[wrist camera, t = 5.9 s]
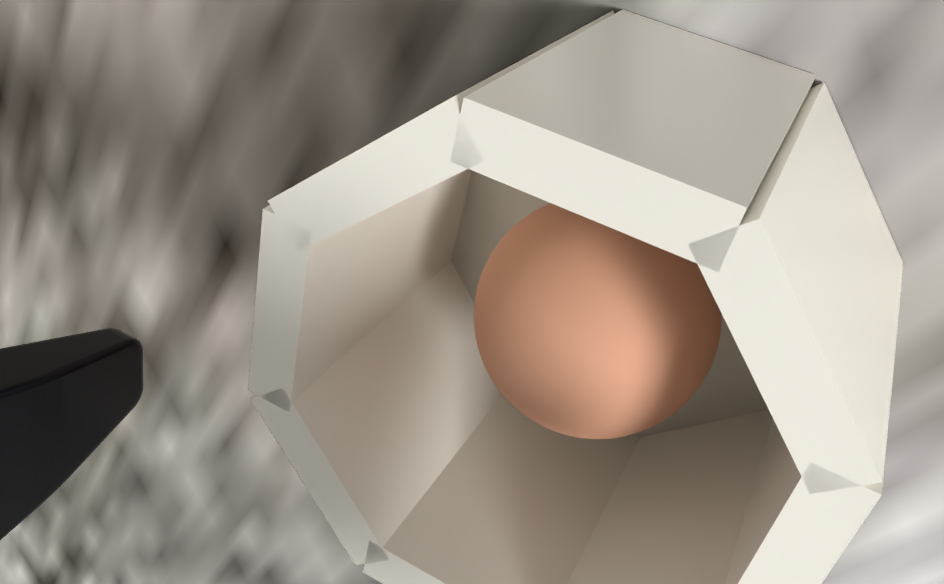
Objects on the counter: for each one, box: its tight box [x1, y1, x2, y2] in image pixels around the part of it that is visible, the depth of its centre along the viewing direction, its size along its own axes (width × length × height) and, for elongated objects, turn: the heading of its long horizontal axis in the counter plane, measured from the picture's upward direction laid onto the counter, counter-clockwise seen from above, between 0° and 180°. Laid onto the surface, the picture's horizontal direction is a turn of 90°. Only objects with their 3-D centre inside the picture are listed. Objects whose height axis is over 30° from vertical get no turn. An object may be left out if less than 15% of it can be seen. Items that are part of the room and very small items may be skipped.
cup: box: [248, 10, 903, 584], centre depth 14 cm, size 8×8×6 cm
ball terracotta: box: [474, 203, 722, 439], centre depth 14 cm, size 4×4×4 cm
